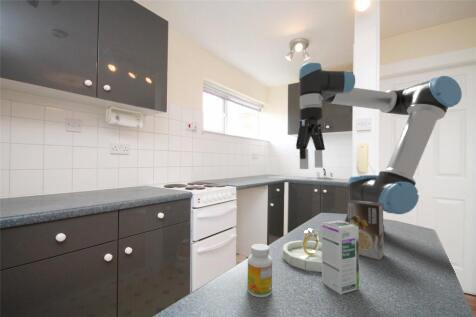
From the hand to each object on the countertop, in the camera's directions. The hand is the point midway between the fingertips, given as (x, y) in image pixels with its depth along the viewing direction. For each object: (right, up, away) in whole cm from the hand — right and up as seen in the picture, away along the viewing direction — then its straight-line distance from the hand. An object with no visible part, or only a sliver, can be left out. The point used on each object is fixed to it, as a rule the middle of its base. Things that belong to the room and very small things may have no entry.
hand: (311, 168), depth 81 cm
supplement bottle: (-21, -26, -30) cm, 45 cm away
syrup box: (-3, -26, -28) cm, 38 cm away
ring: (-5, -26, -13) cm, 29 cm away
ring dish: (-5, -26, -13) cm, 30 cm away
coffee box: (+14, -27, -9) cm, 31 cm away
